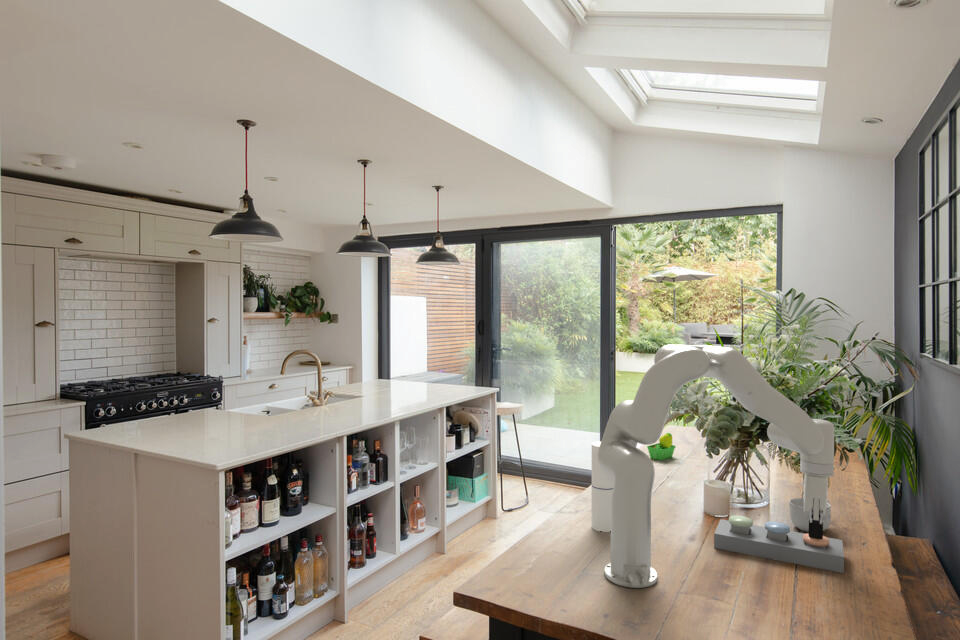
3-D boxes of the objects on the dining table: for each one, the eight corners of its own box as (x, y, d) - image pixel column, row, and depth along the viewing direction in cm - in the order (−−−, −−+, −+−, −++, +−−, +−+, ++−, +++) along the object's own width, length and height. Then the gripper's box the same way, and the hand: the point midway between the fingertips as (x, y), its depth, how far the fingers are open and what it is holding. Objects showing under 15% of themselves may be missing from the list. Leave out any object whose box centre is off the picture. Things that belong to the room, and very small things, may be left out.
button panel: (842, 554, 153) (842, 540, 153) (843, 573, 142) (844, 557, 142) (720, 532, 168) (720, 519, 168) (714, 547, 158) (714, 533, 157)
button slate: (790, 538, 156) (790, 524, 156) (789, 546, 151) (789, 531, 151) (765, 534, 159) (765, 519, 159) (763, 542, 154) (764, 527, 154)
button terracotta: (829, 551, 152) (829, 536, 152) (829, 559, 147) (829, 544, 146) (802, 546, 155) (803, 531, 155) (802, 554, 150) (802, 539, 149)
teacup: (809, 538, 164) (809, 510, 164) (780, 524, 174) (780, 497, 174) (848, 532, 168) (848, 505, 168) (817, 519, 178) (817, 493, 178)
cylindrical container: (588, 529, 171) (588, 445, 170) (595, 521, 177) (595, 440, 176) (612, 533, 167) (612, 448, 167) (618, 525, 174) (618, 442, 173)
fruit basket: (661, 453, 257) (661, 428, 257) (679, 457, 250) (679, 431, 250) (646, 458, 250) (646, 432, 250) (664, 462, 243) (664, 435, 243)
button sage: (753, 532, 161) (753, 517, 161) (751, 539, 156) (751, 525, 155) (730, 528, 164) (730, 514, 164) (727, 535, 159) (727, 521, 158)
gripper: (800, 458, 158) (799, 525, 159) (799, 472, 145) (798, 544, 146) (832, 462, 155) (831, 530, 155) (834, 477, 142) (833, 551, 142)
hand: (815, 537), depth 150 cm, fingers closed
